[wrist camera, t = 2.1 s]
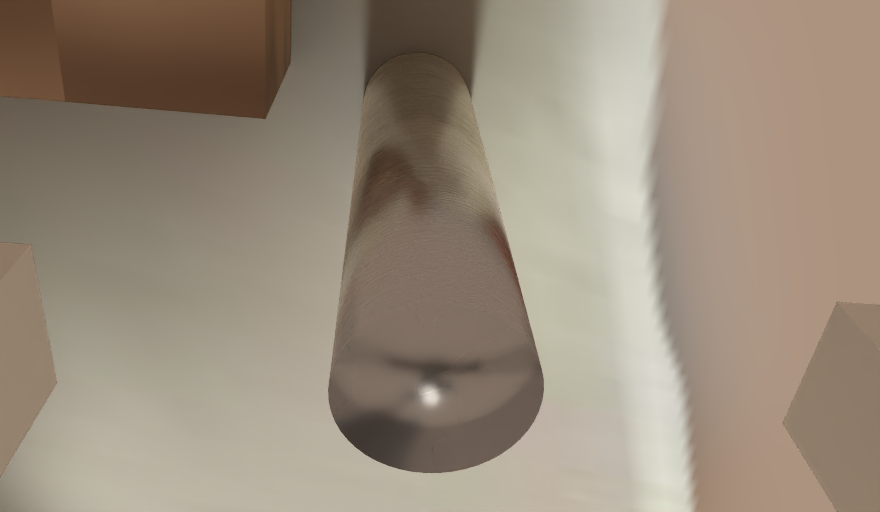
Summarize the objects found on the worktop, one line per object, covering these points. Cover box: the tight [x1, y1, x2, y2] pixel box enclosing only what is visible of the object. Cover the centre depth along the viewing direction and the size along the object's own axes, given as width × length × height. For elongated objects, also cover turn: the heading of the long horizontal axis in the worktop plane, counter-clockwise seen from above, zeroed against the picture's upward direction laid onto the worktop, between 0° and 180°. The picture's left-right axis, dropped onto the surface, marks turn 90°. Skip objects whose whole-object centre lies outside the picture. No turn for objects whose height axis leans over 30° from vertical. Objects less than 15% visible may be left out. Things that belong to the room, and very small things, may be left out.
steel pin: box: [328, 52, 544, 473], centre depth 18 cm, size 3×3×14 cm
